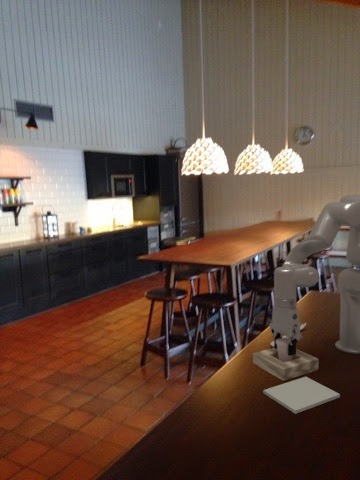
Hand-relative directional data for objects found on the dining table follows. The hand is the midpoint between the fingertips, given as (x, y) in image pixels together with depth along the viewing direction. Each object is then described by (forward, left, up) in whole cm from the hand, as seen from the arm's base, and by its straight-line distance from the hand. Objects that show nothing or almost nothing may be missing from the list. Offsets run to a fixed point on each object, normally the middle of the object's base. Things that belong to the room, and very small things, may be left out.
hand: (284, 351), depth 148 cm
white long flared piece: (-21, -20, -6) cm, 29 cm away
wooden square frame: (0, 0, -6) cm, 6 cm away
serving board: (+10, +18, -6) cm, 21 cm away
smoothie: (0, 0, -6) cm, 6 cm away
